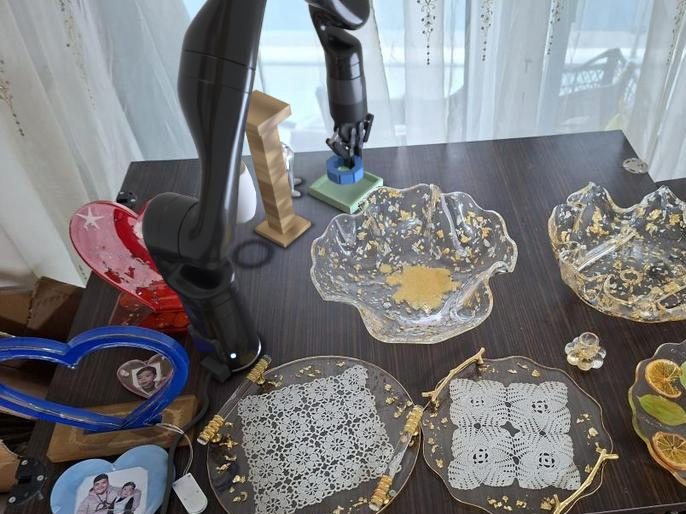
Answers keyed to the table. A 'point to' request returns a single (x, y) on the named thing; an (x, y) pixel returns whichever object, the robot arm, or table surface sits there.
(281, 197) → the platform
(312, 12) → the robot arm
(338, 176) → the ring
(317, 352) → the table surface
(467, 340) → the table surface
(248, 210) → the cup
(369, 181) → the tray
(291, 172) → the figurine
